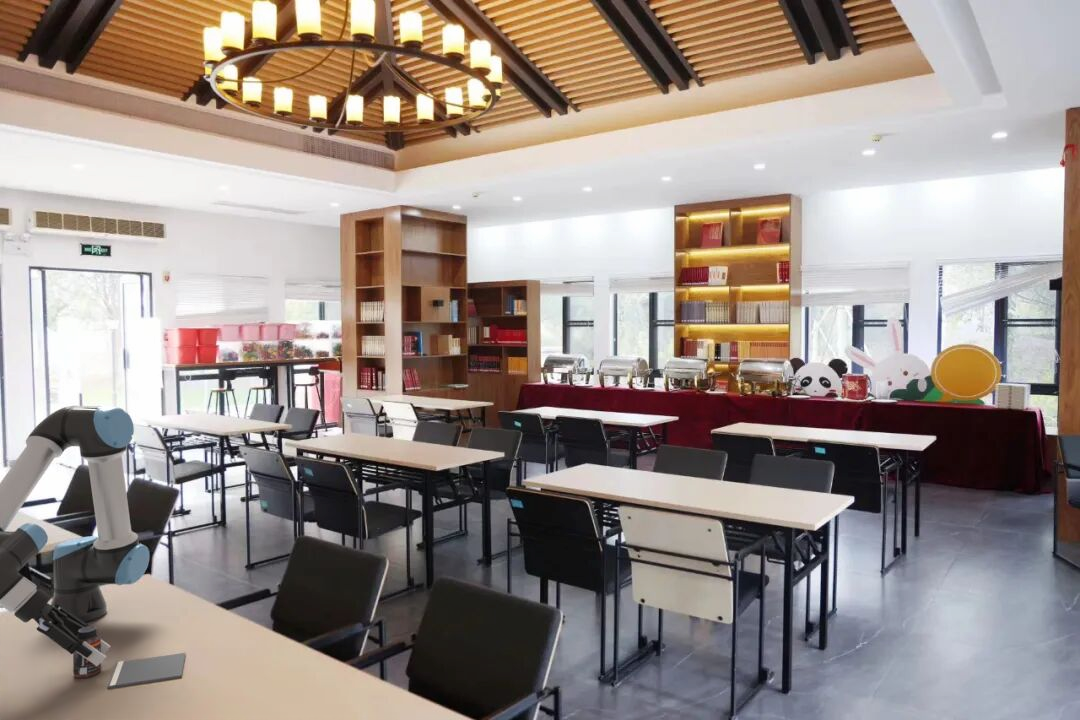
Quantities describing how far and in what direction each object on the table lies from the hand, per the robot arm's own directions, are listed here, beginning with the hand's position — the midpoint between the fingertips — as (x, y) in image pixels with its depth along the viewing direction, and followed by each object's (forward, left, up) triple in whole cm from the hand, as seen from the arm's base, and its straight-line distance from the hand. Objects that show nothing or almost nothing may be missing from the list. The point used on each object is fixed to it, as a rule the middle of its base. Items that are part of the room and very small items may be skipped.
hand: (103, 655), depth 188 cm
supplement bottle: (0, -4, -4) cm, 6 cm away
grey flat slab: (+4, +10, -4) cm, 12 cm away
